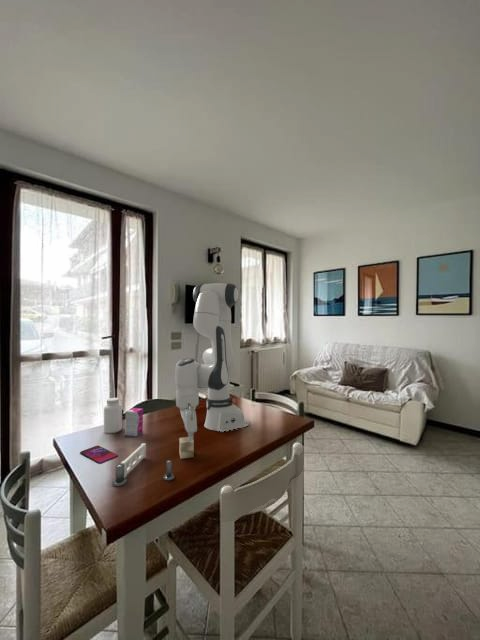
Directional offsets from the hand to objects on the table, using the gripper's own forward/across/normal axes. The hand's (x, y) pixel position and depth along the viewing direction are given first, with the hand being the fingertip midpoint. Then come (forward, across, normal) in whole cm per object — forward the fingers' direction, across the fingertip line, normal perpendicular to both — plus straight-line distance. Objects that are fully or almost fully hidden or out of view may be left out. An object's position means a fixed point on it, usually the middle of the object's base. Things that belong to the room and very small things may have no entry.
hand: (188, 434), depth 111 cm
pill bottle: (+7, +35, +31) cm, 48 cm away
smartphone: (+7, +10, +34) cm, 36 cm away
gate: (+6, -5, +20) cm, 22 cm away
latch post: (+7, -15, +9) cm, 19 cm away
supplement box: (+7, +27, +22) cm, 35 cm away
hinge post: (+6, -13, +25) cm, 28 cm away
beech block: (+8, 0, +1) cm, 8 cm away
